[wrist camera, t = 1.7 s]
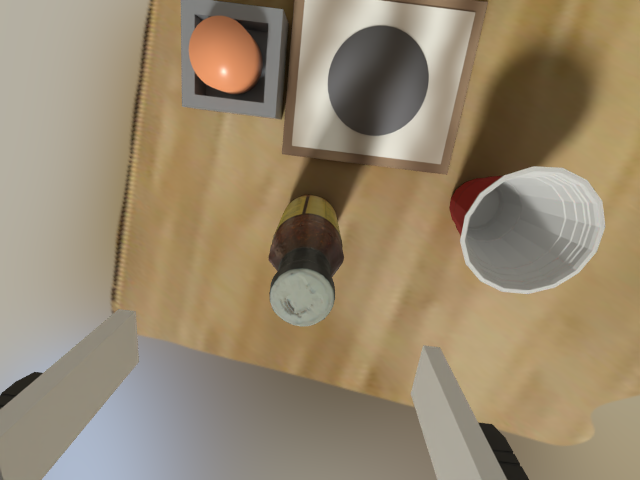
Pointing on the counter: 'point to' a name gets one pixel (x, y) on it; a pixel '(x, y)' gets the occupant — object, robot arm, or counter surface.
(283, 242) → the sauce bottle
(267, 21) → the button housing
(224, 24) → the button
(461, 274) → the counter surface
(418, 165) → the board
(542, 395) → the counter surface
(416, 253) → the counter surface
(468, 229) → the plastic cup
